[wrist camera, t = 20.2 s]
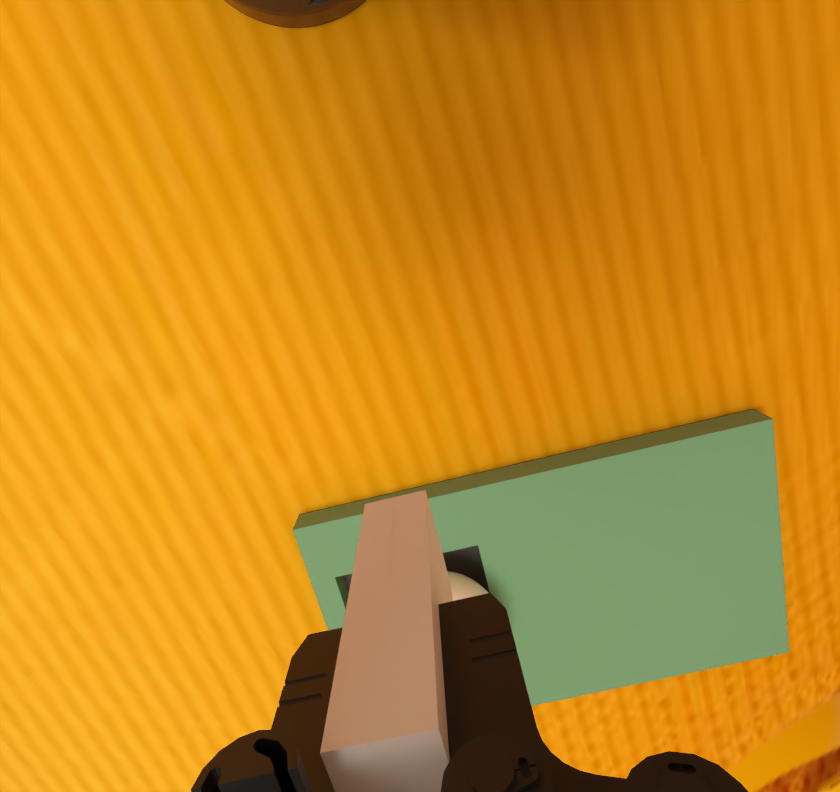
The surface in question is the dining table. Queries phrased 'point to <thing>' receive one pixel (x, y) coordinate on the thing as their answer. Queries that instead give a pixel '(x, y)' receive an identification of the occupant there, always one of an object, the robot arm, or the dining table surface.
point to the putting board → (607, 554)
